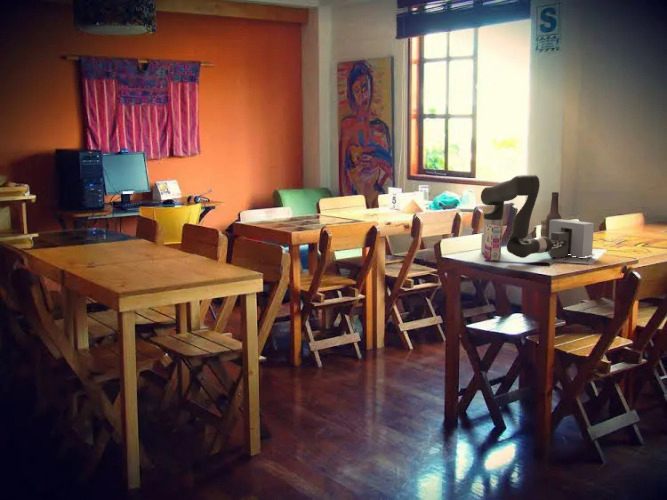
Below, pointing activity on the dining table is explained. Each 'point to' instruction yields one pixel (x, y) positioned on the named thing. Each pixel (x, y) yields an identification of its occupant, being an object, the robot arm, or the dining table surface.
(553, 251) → the plug
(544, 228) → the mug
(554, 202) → the beer bottle
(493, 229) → the candy bar box
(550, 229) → the socket
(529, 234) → the electrical switch
